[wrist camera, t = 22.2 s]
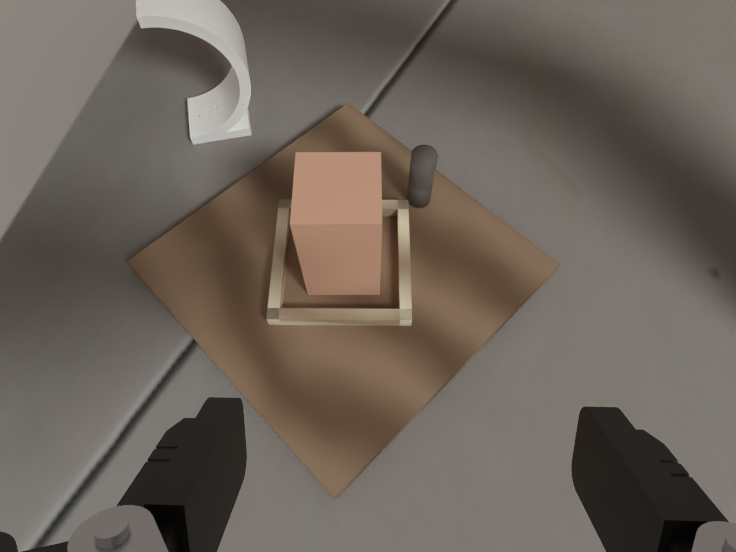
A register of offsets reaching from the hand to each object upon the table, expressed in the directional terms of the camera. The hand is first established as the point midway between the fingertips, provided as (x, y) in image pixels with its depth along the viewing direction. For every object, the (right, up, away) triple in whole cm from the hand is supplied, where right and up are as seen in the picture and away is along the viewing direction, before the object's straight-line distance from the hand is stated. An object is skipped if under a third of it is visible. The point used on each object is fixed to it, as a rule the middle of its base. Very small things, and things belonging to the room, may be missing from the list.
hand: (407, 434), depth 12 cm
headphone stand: (-13, +17, +33) cm, 40 cm away
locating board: (-3, +4, +26) cm, 27 cm away
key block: (-3, +5, +25) cm, 26 cm away
